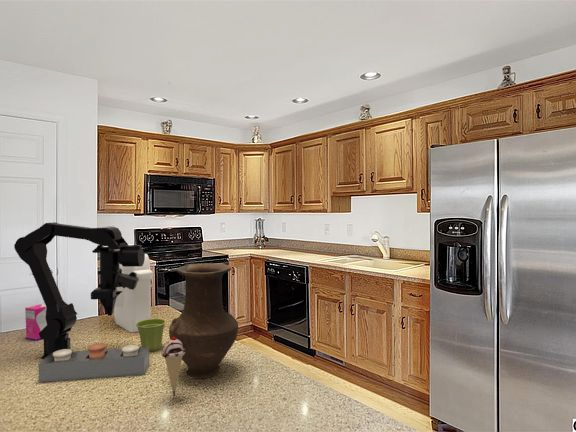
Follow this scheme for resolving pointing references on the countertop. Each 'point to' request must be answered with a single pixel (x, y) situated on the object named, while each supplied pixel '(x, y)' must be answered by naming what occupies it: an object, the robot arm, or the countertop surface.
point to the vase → (204, 320)
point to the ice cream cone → (173, 359)
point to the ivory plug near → (62, 354)
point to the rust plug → (97, 350)
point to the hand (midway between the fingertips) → (110, 315)
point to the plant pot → (151, 333)
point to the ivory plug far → (130, 350)
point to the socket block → (94, 365)
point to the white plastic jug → (134, 298)
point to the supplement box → (35, 321)
